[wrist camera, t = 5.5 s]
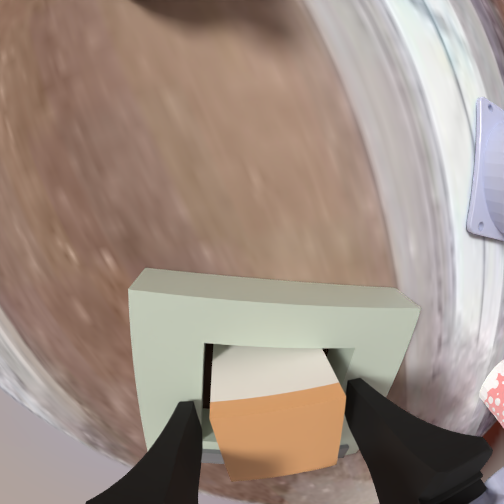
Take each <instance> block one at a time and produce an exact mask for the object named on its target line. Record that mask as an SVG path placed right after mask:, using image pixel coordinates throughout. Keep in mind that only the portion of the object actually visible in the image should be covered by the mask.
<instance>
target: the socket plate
mask: <svg viewBox="0 0 504 504" xmlns="http://www.w3.org/2000/svg"><path fill="white" fill-rule="evenodd" d="M128 295H129V316H130V330H131V343H132V353H133V363H134V372H135V380H136V387H137V394H138V401H139V407H140V414H141V419H142V425H143V430H144V436H145V441H146V445H147V450H149V449H150V448H151V446H152V445H153V444H154V442H155V441H156V440H157V438H158V437H159V435H160V434H161V432H162V431H163V429H164V427H165V426H166V424H167V423H168V421H169V419H170V417H171V416H172V414H173V412H174V410H175V408H176V406H177V404H178V403H179V402H180V401H194V405H195V408H196V411H197V415H198V418H199V421H200V424H201V427H202V439H203V450H202V460H201V462H203V463H218V464H225V463H224V460H223V457H222V455H221V452H220V449H219V446H218V443H217V440H216V437H215V434H214V431H213V428H212V425H211V422H210V418H209V417H210V409H205V408H203V390H204V366H205V347H206V343H211V344H223V345H237V346H253V347H276V348H329V350H328V354H327V359H328V361H329V363H330V365H331V367H332V369H333V371H334V373H335V375H336V377H337V379H338V381H339V383H340V385H341V387H342V389H343V391H344V393H345V395H346V389H347V381H348V380H352V379H356V378H361V379H363V380H364V381H365V382H366V383H368V384H369V385H370V386H371V387H373V388H374V389H375V390H376V391H378V392H379V393H380V394H382V395H383V396H384V397H386V396H387V394H388V392H389V390H390V388H391V386H392V383H393V381H394V379H395V377H396V374H397V372H398V370H399V367H400V365H401V362H402V360H403V358H404V355H405V352H406V350H407V347H408V345H409V342H410V339H411V337H412V334H413V331H414V328H415V325H416V323H417V320H418V317H419V314H420V310H421V308H420V307H419V306H418V305H416V304H415V303H414V302H413V301H411V300H410V299H409V298H408V297H406V296H405V295H404V294H402V293H401V292H400V291H399V290H397V289H396V288H390V287H372V286H355V285H339V284H324V283H310V282H296V281H283V280H271V279H258V278H247V277H235V276H224V275H213V274H202V273H192V272H182V271H172V270H162V269H153V268H145V269H144V270H143V271H142V272H141V274H140V275H139V276H138V277H137V279H136V280H135V281H134V283H133V284H132V285H131V286H130V288H129V289H128ZM358 449H359V448H358V445H357V443H356V441H355V439H354V437H353V435H352V433H351V431H350V429H349V426H348V424H347V421H346V417H345V414H344V419H343V427H342V434H341V440H340V446H339V453H338V458H343V457H344V456H345V455H349V454H355V453H357V451H358Z"/></svg>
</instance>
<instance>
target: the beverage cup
mask: <svg viewBox="0 0 504 504" xmlns="http://www.w3.org/2000/svg"><path fill="white" fill-rule="evenodd" d="M479 397H480V398H481V400H482V401H483V402H484V403H485V405H486V406H487V407H488V408H489V410H490V411H491V412H492V414H493V415H494V416H495V418H496V419H497V420H498V421H499V423H500V424H501V425H502V427H503V428H504V360H502V361H501V362H500V363H499V364H498V365H497V366H496V367H494V369H493V370H492V371H491V372H490V374H489V375H488V376H487V378H486V380H485V381H484V383H483V385H482V387H481V390H480V393H479Z"/></svg>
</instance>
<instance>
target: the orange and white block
mask: <svg viewBox="0 0 504 504" xmlns="http://www.w3.org/2000/svg"><path fill="white" fill-rule="evenodd" d="M345 403H346V395H345V393H344V391H343V389H342V387H341V385H340V383H339V381H338V379H337V377H336V375H335V373H334V371H333V369H332V367H331V365H330V363H329V361H328V359H327V357H326V355H325V353H324V351H323V350H322V348H276V347H253V346H237V345H223V344H214V345H213V361H212V378H211V396H210V417H209V418H210V422H211V425H212V428H213V431H214V434H215V437H216V440H217V443H218V446H219V449H220V452H221V455H222V457H223V460H224V463H225V466H226V469H227V471H228V474H229V477H230V479H231V482H233V481H245V480H255V479H264V478H271V477H278V476H285V475H291V474H296V473H301V472H307V471H311V470H316V469H321V468H325V467H329V466H333V465H336V464H337V458H338V453H339V446H340V440H341V434H342V427H343V419H344V412H345Z"/></svg>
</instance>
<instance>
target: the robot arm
mask: <svg viewBox="0 0 504 504" xmlns="http://www.w3.org/2000/svg"><path fill="white" fill-rule="evenodd" d="M478 226H479V228H478ZM467 230H468V232H470V233H473V234H476V235H481V236H485V237H489V238H493V239H497V240H501V241H504V110H503V109H501V108H500V107H498V106H497V105H495V104H494V103H492V102H491V101H489V100H488V99H486V98H485V97H480V98H478V99H477V130H476V152H475V165H474V176H473V185H472V193H471V200H470V207H469V213H468V219H467ZM344 414H345V417H346V421H347V424H348V426H349V429H350V431H351V433H352V435H353V437H354V439H355V441H356V443H357V445H358V448H359V450H360V452H361V454H362V456H363V458H364V460H365V462H366V464H367V466H368V468H369V471H370V474H371V477H372V480H373V483H374V486H375V489H376V492H377V496H378V499H379V503H380V504H504V467H502V468H501V469H500V470H498V471H497V472H496V473H494V474H493V475H492V476H491V477H489V478H488V479H487V480H486V482H485V483H483V482H482V480H481V479H480V478H482V477H483V474H482V473H481V472H480V470H481V469H482V467H483V466H484V465H485V463H486V462H487V461H488V459H489V458H490V456H491V455H492V451H493V450H492V448H491V447H490V446H489V444H488V443H487V442H486V440H485V439H484V438H483V437H478V436H471V435H465V434H460V433H456V432H452V431H449V430H446V429H443V428H440V427H437V426H435V425H432V424H430V423H427V422H425V421H423V420H421V419H419V418H417V417H415V416H413V415H411V414H410V413H408V412H406V411H405V410H403V409H401V408H400V407H398V406H397V405H395V404H394V403H392V402H391V401H390V400H388V399H387V398H386V397H384V396H383V395H382V394H380V393H379V392H378V391H376V390H375V389H374V388H373V387H371V386H370V385H369V384H368V383H366V382H365V381H364V380H363V379H361V378H356V379H352V380H348V381H347V389H346V403H345V412H344ZM202 450H203V439H202V427H201V424H200V421H199V418H198V415H197V411H196V408H195V405H194V401H180V402H179V403H178V404H177V406H176V408H175V410H174V412H173V414H172V416H171V417H170V419H169V421H168V423H167V424H166V426H165V427H164V429H163V431H162V432H161V434H160V435H159V437H158V438H157V440H156V441H155V442H154V444H153V445H152V446H151V448H150V449H149V450H148V452H147V453H146V454H145V455H144V457H143V458H142V459H141V460H140V461H139V462H138V463H137V464H136V465H135V466H134V467H133V468H132V469H131V470H130V471H129V472H128V473H127V474H126V475H125V476H124V477H123V478H121V479H120V480H119V481H118V482H116V483H115V484H114V485H112V486H111V487H110V488H108V489H107V490H105V491H104V492H103V493H101V494H99V495H97V496H96V497H94V498H93V499H90V500H88V501H86V504H198V487H199V478H200V469H201V460H202Z"/></svg>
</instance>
